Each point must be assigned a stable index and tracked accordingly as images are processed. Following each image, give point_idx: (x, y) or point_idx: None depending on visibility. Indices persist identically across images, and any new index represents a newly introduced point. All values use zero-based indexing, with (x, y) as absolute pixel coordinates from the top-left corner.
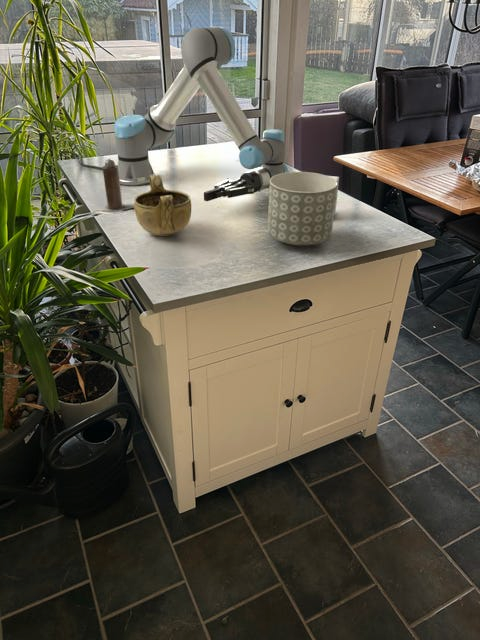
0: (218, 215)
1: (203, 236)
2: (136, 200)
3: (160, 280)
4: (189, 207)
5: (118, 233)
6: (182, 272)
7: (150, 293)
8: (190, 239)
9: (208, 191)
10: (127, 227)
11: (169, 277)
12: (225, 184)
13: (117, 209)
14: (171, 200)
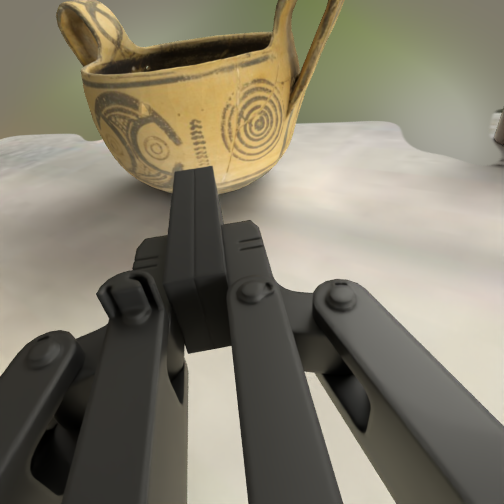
0: (211, 403)
1: (84, 237)
2: (259, 44)
3: (41, 145)
4: (90, 105)
5: None
6: (16, 165)
7: (32, 135)
8: (109, 208)
9: (200, 185)
10: (316, 142)
11: (31, 152)
12: (332, 484)
13: (495, 140)
14: (59, 18)
